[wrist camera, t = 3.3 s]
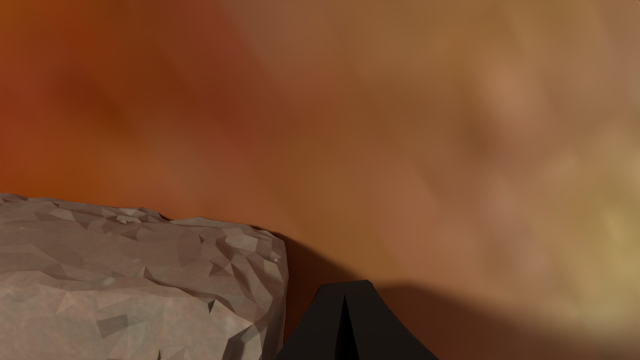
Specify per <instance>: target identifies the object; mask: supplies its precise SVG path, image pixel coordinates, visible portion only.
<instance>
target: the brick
mask: <svg viewBox="0 0 640 360" xmlns="http://www.w3.org/2000/svg"><path fill="white" fill-rule="evenodd" d="M288 279H289V273H288V265H287V256H286V248H285V244H284V241H283V240H281V239H279V238H277V237H275V236H273V235H272V234H270V233H269V232H268V231H263V230H255V229H254V228H252V227H251V226H249V225H247V224H236V223H227V222H221V221H215V220H210V219H206V218H202V217H196V218H189V219H183V220H173V221H167V220H165V219H163V218H162V217H161V216H160V215H159V213H158V212H155V211H152V210H149V209H145V208H114V207H110V206H101V205H93V204H86V203H76V202H68V201H64V200H60V199H54V198H48V197H45V198H27V197H23V196H20V195H16V194H3V193H0V360H273V358H274V357H275V356H276V355H277V353H278V352H279V351H280V349H281V348H282V347H283V335H284V325H285V318H286V293H287V286H288Z"/></svg>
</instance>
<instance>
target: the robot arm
mask: <svg viewBox="0 0 640 360" xmlns="http://www.w3.org/2000/svg"><path fill="white" fill-rule="evenodd" d="M273 360H439V359H438V358H437V357H436V356H435V355H434V354H432V353H431V352H430V351H429V350H428V349H427V348H426V347H425V346H424V345H423V344H422V343H421V342H420V341H419V340H418V339H416V338H415V337H414V336H413V335H412V334H411V333H410V332H409V330H408V329H407V328H406V327H405V326H404V325H403V324H402V323H401V322H400V321H399V320H398V318H397V317H396V316H395V315H394V314H393V313H392V311H391V310H390V309H389V308H388V307H387V305H386V304H385V303H384V301H383V300H382V299H381V297H380V296H379V294H378V293H377V291H376V290H375V288H374V287H373V285H372V283H371V282H370V281H368V280H361V281H351V282H342V283H333V284H323V285H321V286H320V288H319V289H318V291H317V293H316V295H315V297H314V299H313V301H312V302H311V304H310V306H309V308H308V309H307V311H306V313H305V314H304V316H303V317H302V319H301V321H300V322H299V324H298V325H297V327H296V328H295V330H294V331H293V333H292V334H291V336H290V337H289V338H288V340H287V341H286V343H285V344H284V345H283V347H282V348H281V349H280V351H279V352H278V353H277V355H276V356H275V357H274V358H273Z"/></svg>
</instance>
